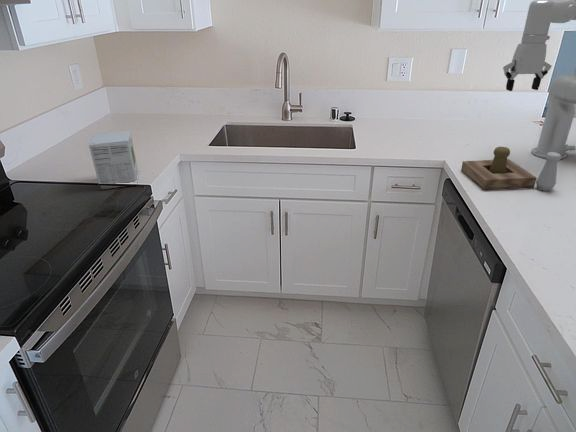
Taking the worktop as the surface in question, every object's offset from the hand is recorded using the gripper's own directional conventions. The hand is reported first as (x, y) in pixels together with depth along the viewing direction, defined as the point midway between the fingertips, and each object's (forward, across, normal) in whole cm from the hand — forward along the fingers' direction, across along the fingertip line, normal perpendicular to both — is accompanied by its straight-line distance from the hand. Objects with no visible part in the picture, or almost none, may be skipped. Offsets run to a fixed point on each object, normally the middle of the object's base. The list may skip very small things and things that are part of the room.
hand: (521, 89), depth 154 cm
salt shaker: (+28, 0, +26) cm, 39 cm away
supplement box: (+29, +151, +2) cm, 154 cm away
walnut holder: (+28, +12, +16) cm, 35 cm away
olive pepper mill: (+28, +12, +16) cm, 34 cm away
